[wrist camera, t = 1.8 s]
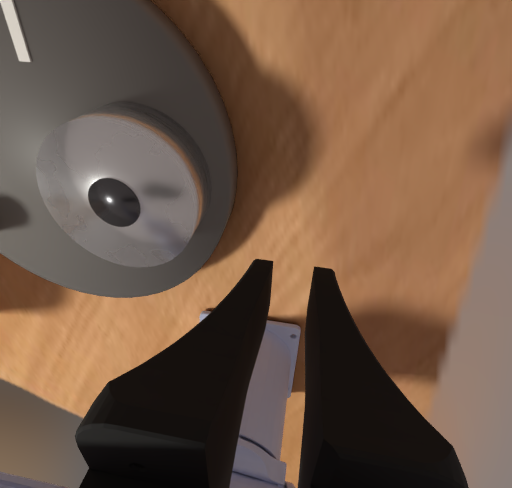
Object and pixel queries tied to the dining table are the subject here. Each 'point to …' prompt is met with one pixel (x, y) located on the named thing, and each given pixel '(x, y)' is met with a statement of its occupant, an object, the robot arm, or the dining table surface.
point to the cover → (125, 183)
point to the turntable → (85, 100)
